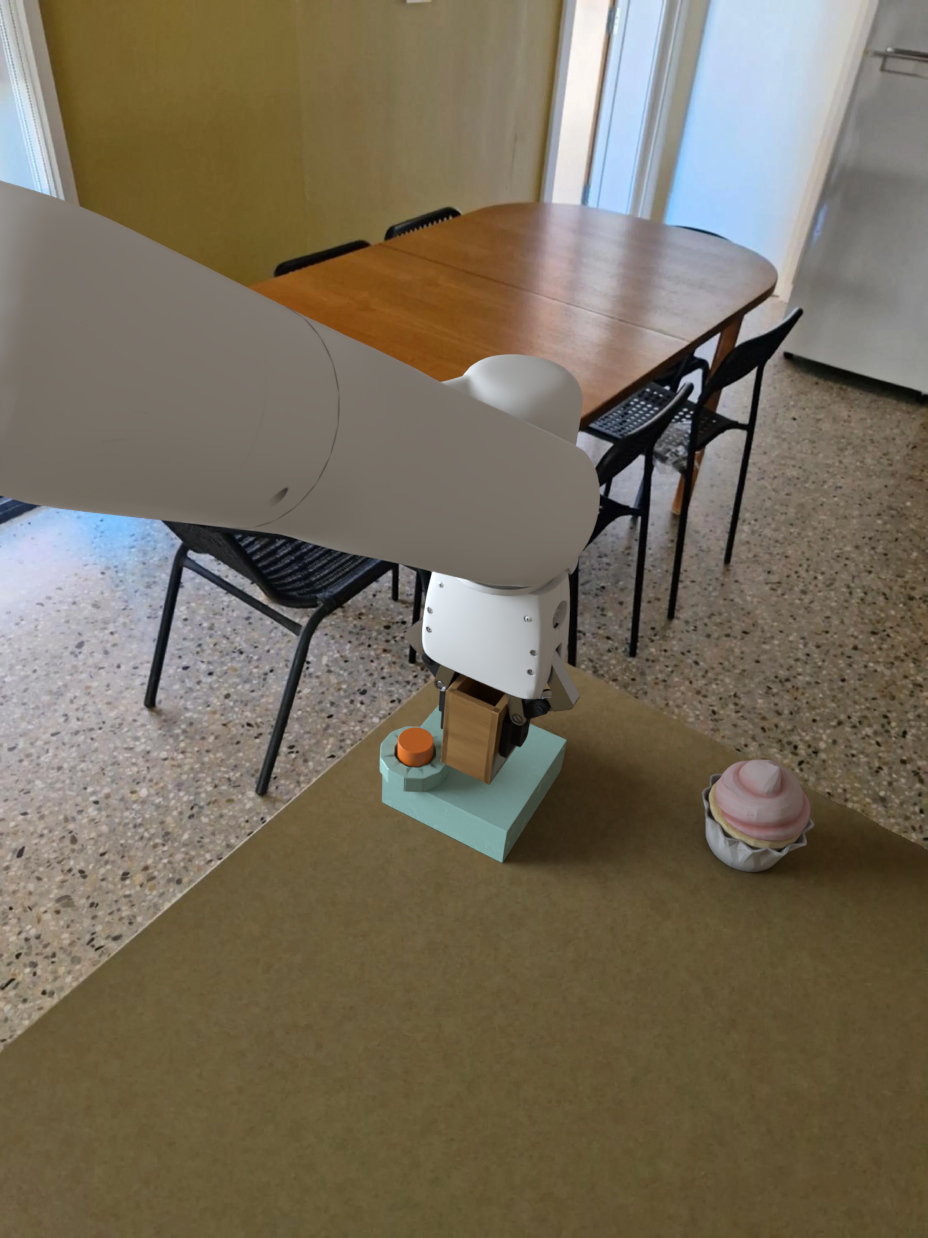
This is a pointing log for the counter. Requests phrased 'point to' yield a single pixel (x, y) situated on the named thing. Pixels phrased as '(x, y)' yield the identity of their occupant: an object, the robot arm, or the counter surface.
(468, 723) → the open wooden box
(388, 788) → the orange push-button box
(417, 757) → the button
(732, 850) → the cupcake
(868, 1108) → the counter surface
